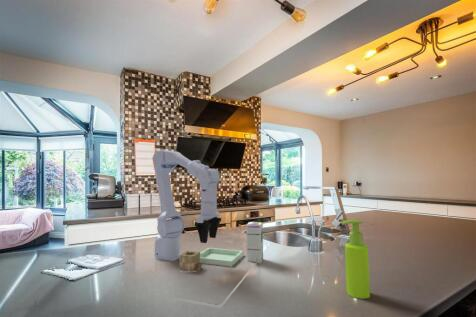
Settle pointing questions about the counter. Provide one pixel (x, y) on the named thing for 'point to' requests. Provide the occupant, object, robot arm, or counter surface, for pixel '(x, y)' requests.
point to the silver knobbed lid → (186, 271)
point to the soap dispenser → (356, 263)
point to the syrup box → (254, 242)
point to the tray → (220, 256)
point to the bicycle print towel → (87, 266)
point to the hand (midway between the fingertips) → (208, 240)
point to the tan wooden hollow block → (190, 261)
